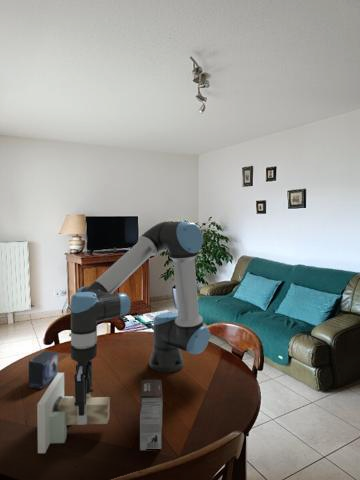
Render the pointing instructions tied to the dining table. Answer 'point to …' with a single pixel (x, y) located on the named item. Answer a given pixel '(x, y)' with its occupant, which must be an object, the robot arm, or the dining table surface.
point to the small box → (43, 369)
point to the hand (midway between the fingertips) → (84, 418)
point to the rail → (95, 409)
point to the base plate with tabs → (51, 416)
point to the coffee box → (151, 414)
